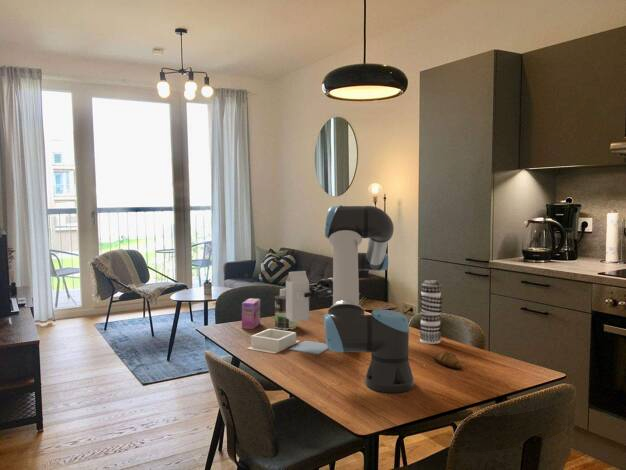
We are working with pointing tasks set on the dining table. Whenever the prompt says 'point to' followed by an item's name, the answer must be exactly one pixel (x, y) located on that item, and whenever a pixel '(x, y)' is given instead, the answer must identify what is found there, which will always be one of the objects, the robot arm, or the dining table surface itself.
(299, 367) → the dining table surface
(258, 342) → the white tray
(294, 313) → the milk carton
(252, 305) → the box
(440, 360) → the croissant
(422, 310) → the round tower model
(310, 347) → the mat
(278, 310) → the coffee can
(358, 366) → the dining table surface
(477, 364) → the dining table surface
